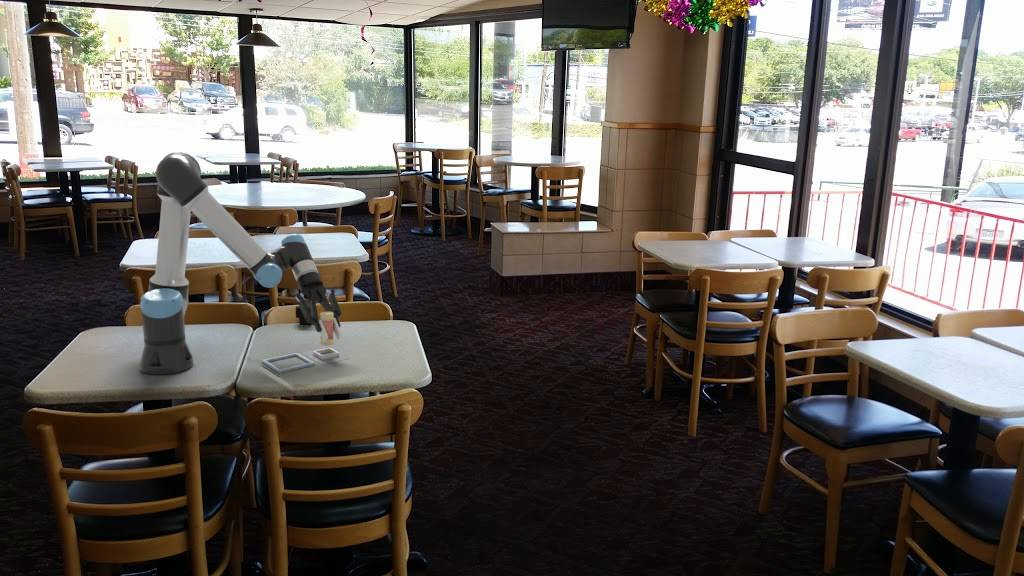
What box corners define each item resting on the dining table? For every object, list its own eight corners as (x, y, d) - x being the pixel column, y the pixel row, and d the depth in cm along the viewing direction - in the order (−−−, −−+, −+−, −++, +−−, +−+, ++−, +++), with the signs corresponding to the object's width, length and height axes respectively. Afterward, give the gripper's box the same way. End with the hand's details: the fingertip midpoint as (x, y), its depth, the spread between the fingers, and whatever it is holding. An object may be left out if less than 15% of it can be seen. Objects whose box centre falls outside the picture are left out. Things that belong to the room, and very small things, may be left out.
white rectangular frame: (322, 369, 246) (322, 360, 245) (301, 356, 256) (301, 349, 256) (351, 362, 253) (350, 354, 252) (329, 351, 263) (329, 343, 262)
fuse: (324, 346, 250) (323, 315, 248) (318, 342, 253) (317, 312, 251) (336, 343, 253) (335, 313, 251) (330, 340, 256) (329, 310, 254)
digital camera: (298, 317, 299) (297, 300, 297) (312, 317, 300) (312, 299, 298) (296, 326, 289) (295, 307, 287) (311, 325, 290) (310, 307, 288)
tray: (278, 377, 238) (278, 370, 238) (262, 366, 247) (261, 360, 246) (314, 369, 246) (314, 362, 245) (297, 359, 254) (297, 352, 254)
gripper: (327, 280, 266) (352, 339, 258) (279, 286, 255) (304, 348, 247) (335, 267, 261) (361, 328, 253) (286, 273, 250) (311, 337, 242)
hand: (332, 338), depth 250 cm, fingers closed on fuse, 4 cm apart
